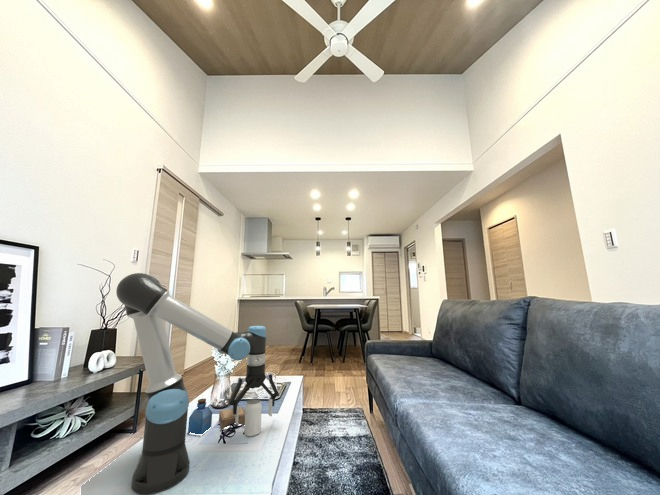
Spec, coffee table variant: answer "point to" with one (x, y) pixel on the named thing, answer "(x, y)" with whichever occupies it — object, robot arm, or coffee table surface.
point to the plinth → (231, 417)
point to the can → (253, 417)
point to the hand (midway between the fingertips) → (253, 418)
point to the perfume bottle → (200, 418)
